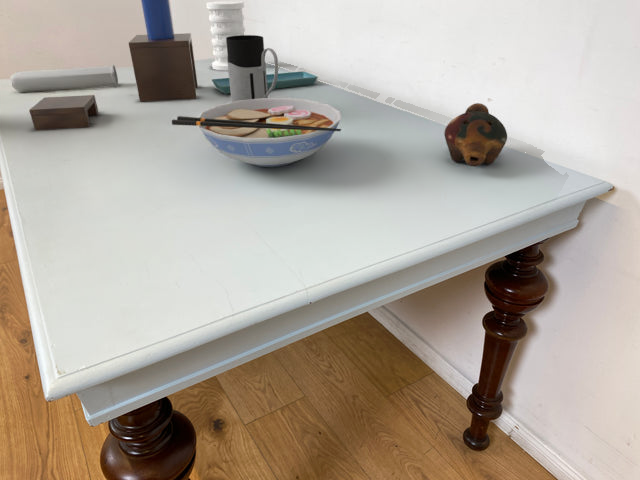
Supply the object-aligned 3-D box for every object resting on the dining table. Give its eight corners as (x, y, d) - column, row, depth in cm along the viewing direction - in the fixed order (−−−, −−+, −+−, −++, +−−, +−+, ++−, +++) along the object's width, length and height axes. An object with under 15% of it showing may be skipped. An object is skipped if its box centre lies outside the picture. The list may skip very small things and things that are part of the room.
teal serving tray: (304, 78, 133) (303, 69, 132) (318, 84, 126) (318, 75, 125) (212, 89, 123) (210, 79, 122) (222, 96, 116) (221, 86, 115)
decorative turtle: (494, 145, 84) (505, 100, 80) (507, 185, 72) (521, 134, 68) (438, 139, 86) (446, 95, 81) (441, 178, 73) (451, 128, 69)
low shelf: (35, 130, 94) (28, 109, 92) (49, 116, 103) (44, 97, 101) (88, 126, 96) (83, 106, 94) (99, 113, 104) (94, 94, 102)
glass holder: (254, 104, 110) (248, 33, 102) (295, 116, 101) (293, 40, 94) (222, 111, 105) (214, 37, 97) (263, 125, 96) (257, 45, 88)
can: (146, 39, 110) (138, -5, 105) (149, 36, 115) (142, -6, 110) (173, 39, 111) (166, -5, 106) (175, 35, 116) (168, -7, 111)
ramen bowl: (356, 141, 87) (358, 96, 82) (333, 194, 67) (334, 137, 63) (226, 134, 91) (221, 90, 87) (169, 181, 72) (160, 127, 68)
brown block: (139, 101, 113) (128, 42, 106) (146, 89, 124) (136, 35, 117) (196, 98, 115) (188, 40, 108) (197, 86, 126) (190, 33, 119)
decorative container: (204, 67, 148) (196, 3, 139) (233, 62, 156) (227, 0, 147) (229, 72, 142) (222, 4, 133) (257, 66, 150) (253, 2, 140)
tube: (5, 78, 118) (113, 71, 123) (8, 67, 121) (113, 61, 126) (14, 97, 122) (118, 90, 127) (17, 86, 125) (118, 79, 130)
